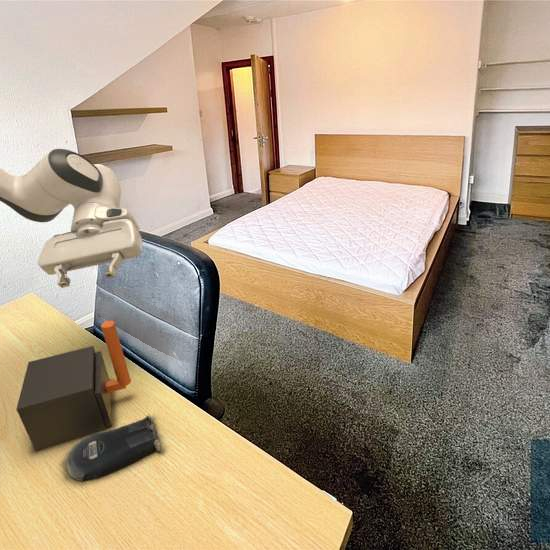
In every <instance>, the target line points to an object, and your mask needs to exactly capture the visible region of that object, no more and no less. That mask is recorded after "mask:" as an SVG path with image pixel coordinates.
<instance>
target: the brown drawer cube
mask: <svg viewBox="0 0 550 550" xmlns="http://www.w3.org/2000/svg"><path fill="white" fill-rule="evenodd" d="M95 362H96V349H95V347H94V345H90V346H85V347H83V348H78V349H75V350H71V351H67V352H62V353H58V354H54V355H50V356H47V357H43V358H39V359H34V360H31V361H28V363H27V366H26V370H25V374H24V378H23V382H22V385H21V390H20V394H19V397H18V401H17V405H16V410H15V411H16V412H17V414H18V416H19V418H20V420H21V422H22V425H23V427H24V429H25V431H26V433H27V435H28V438H29V440H30V442H31V444H32V447H33V449H34V451H35V452H38V451H42V450H44V449H48V448H51V447H54V446H57V445H60V444H64V443H66V442H70V441H73V440H77V439H80V438H82V437H87V436H91V435H94V434H97V433H100V432H101V431H102V432H103V431H105V430H107V427H106V425H105V422H104V419H103V416H102V413H101V410H100V407H99V404H98V401H97V398H96V395H95V391H94V363H95Z"/></svg>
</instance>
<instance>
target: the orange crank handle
mask: <svg viewBox="0 0 550 550" xmlns="http://www.w3.org/2000/svg"><path fill="white" fill-rule="evenodd" d="M100 327H101V331H102V334H103V338H104V341H105V344H106V347H107V351H108V354H109V357H110V361H111V365H112V368H113V371H114V374H115V378H116V379H111V380H110V376H109V373H108V370H107V367H106V364H105V360H104V357H103V353H102V350H98V351H95V353H96V362H95V363H94V391H95V395H96V398H97V401H98V404H99V407H100V410H101V413H102V416H103V419H104V422H105V425H106V428H108V427H111V426H113V421H112V394H111V393H114V392H117V391H120V390H123V389H126V388H127V386H129V385H130V384H131V383H132V379H131V376H130V372H129V368H128V365H127V361H126V359H125V354H124V351H123V347H122V344H121V340H120V337H119V334H118V330H117V326H116V322H115V321H113V320H106V321H104V322H103V323H101V325H100Z"/></svg>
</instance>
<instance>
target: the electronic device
mask: <svg viewBox="0 0 550 550" xmlns="http://www.w3.org/2000/svg"><path fill="white" fill-rule="evenodd" d="M155 452H161V443H160V442H159V438H158V435H157V432H156V424H155V422H154V421H153V418H152V416H151V414H149V413H148V414H147V415H146V416H145V417H144V418H142V419H140V420H137V421H135V422H132V423H129V424H127V425H123V426H120V427H117V428H114V429H111V430H107V431H102V432H97V433H93V434H90V435H88V436H86V437H85V438H83V439H82V440H80V441H78V442H77V443H76V444H75V445H74V446H73V447H72V448H71V449H70V451H69V454H68V457H67V459H66V460H65V461H66V462H65V464H66V468H67V472H68V476H69V477H70V478H73V479H74V480H76V481H80V482H85V481H89V480H94V479H99V478H100V477H105V476H106V475H109V474H111V473H114V472H116V471H119V470H121V469H123V468H125V467H128V466H130V465H132V464H135V463H137V462H138V461H140V460H142V459H143V458H145V457H147V456H149V455H151V454H153V453H155Z"/></svg>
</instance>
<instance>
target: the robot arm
mask: <svg viewBox="0 0 550 550" xmlns="http://www.w3.org/2000/svg"><path fill="white" fill-rule="evenodd" d="M121 194H122V193H121V185H120V181H119V178H118V176H117V174H116V173H115V172H114V170H112V169H111V168H110V167H108V166H106V165H105V164H104V165H103V164H99V163H96V164H95V163H93V162H92V161H90V160H89V159H88V158H87V157H86V156H83V155H81V154H80V153H77V152H75V151H73V150H70V149H66V148H55V149H52V150H51V151H49V152H48V154H46V155H44V157H42V158H41V159H40V160H39V161H38V162H37V163H36V164H35V165H34V166H33V167H32V168H31V169H30V170H29V171H28V172H26V173H25V174H22V175H15V174H11V172H9V171H6V170H5V169H3V168H2V167H0V202H1V203H3V204H4V205H6V206H8V207H9V208H10V209H11V210H13V211H14V212H15V213H17V214H18V215H19V216H21V217H23V218H25V219H27V220H28V221H32V222H36V223H49V222H52V221H53V220H54V219H56V217H58V216H59V215H60V214H61V213H62V211H63V210H64V209H65V208H66V207H68V206H69V205H71V206H72V207H73V215H72V220H71V225H70V231H67V232H63V233H60V234H55V235H53V236H52V237H50V238H49V239H47V240H46V241H45V244H44V245H43V247H42V250H41V251H40V255H39V257H38V259H37V265H38V266H39V268H40V269H41V270H42V271H43V272H45V273H46V274H47V275H49V276H52V275H56V276H57V277H58V278H57V286H59V287H60V289H63V288H68V287H70V286H71V280H72V279H70V278H69V277H68V276H67V274H68V272H72V271H76V270H82V269H86V268H91V267H94V266H100V265H105V264H109V265H106V266H105V268H104V270H105V271H104V275H105V276H106V277H107V279H111V278H116V277H117V275H118V274H117V273H118V270H119V269H120V268H121V266H122V265H123V264H124V262H125V261H124V260H128V259H129V260H130V259H134V258H137V257H139V256H140V255H141V254H142V252H143V238H142V235H141V233H140V231H141V230H140V226H139V224H138V221H136V219H135V217H134V216H133V214H132V213H131V212H130V211H129V210H128V208H123V207H121V196H122V195H121Z"/></svg>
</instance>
